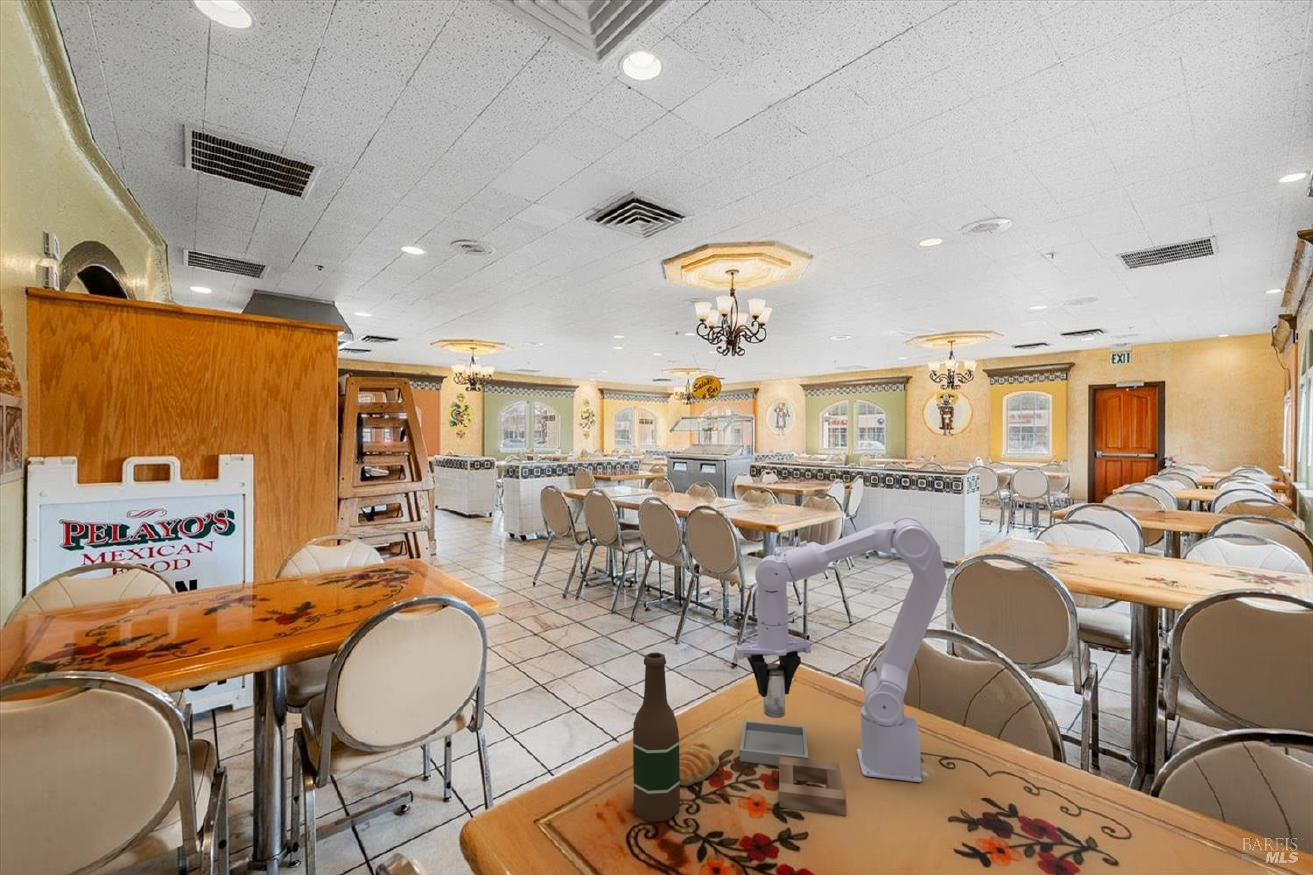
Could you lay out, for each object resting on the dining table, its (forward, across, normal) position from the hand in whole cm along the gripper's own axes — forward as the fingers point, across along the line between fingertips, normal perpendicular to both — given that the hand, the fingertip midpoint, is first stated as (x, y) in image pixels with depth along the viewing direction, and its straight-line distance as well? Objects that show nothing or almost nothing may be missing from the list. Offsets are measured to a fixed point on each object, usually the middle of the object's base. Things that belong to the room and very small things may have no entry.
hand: (773, 693), depth 104 cm
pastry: (+11, -16, -4) cm, 20 cm away
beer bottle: (+11, -25, -12) cm, 30 cm away
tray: (+10, 0, 0) cm, 10 cm away
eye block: (+10, 0, -13) cm, 17 cm away
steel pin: (+3, 0, 0) cm, 4 cm away
